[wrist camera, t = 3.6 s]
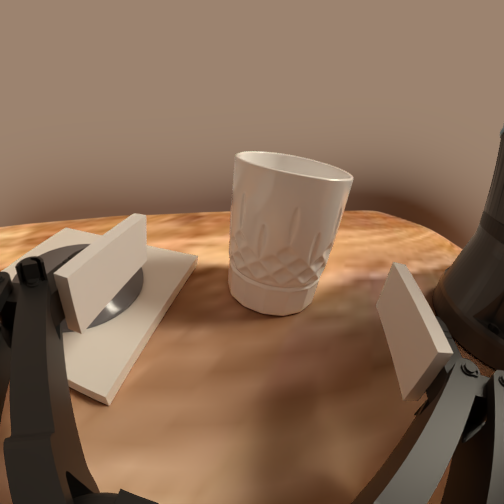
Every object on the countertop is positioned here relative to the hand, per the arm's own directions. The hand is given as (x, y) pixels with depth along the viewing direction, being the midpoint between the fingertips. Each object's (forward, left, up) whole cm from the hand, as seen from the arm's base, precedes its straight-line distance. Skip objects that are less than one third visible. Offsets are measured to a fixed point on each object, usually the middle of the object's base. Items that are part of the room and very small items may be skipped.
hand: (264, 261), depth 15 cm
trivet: (+13, -1, -6) cm, 15 cm away
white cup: (-1, -7, -6) cm, 9 cm away
